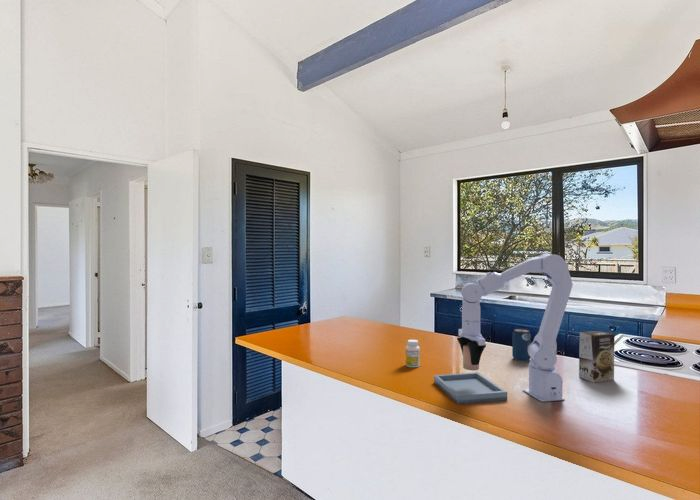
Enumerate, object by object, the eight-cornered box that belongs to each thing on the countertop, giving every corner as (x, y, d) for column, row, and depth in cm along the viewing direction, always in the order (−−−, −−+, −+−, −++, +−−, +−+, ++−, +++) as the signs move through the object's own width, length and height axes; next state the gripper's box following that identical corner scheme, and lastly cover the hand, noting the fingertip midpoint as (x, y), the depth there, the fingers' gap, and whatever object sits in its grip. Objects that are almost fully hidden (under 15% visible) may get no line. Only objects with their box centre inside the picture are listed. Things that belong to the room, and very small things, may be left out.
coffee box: (594, 383, 131) (594, 335, 130) (578, 376, 137) (578, 331, 137) (615, 380, 133) (615, 333, 133) (598, 374, 139) (598, 329, 139)
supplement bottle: (410, 362, 154) (410, 338, 154) (422, 365, 151) (422, 340, 151) (403, 365, 150) (403, 341, 150) (415, 368, 147) (415, 343, 147)
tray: (507, 400, 117) (507, 391, 117) (457, 404, 114) (457, 395, 114) (477, 379, 135) (477, 372, 135) (434, 382, 132) (434, 375, 132)
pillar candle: (482, 369, 124) (482, 348, 124) (467, 370, 123) (467, 348, 123) (474, 365, 129) (474, 344, 128) (460, 365, 128) (460, 344, 128)
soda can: (532, 362, 153) (533, 332, 153) (514, 361, 155) (514, 331, 155) (528, 357, 160) (528, 328, 160) (510, 356, 162) (510, 327, 161)
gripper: (450, 316, 132) (450, 356, 132) (470, 325, 118) (470, 369, 118) (469, 315, 133) (469, 355, 133) (491, 324, 119) (491, 368, 119)
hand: (471, 361), depth 126 cm, fingers closed on pillar candle, 5 cm apart
